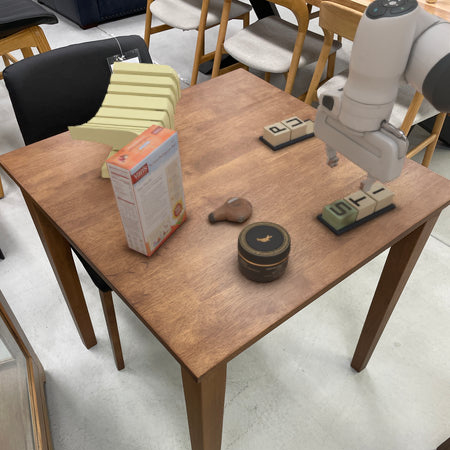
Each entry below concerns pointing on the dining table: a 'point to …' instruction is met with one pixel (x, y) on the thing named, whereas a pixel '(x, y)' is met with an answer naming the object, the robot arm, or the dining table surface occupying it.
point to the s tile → (339, 214)
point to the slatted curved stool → (132, 106)
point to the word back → (287, 133)
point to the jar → (263, 251)
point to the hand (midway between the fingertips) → (347, 177)
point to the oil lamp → (232, 210)
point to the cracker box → (149, 188)
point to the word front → (366, 206)
